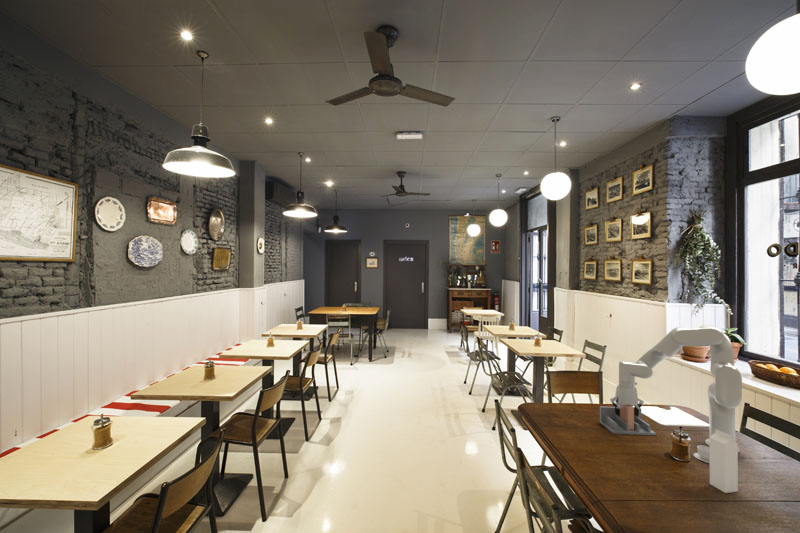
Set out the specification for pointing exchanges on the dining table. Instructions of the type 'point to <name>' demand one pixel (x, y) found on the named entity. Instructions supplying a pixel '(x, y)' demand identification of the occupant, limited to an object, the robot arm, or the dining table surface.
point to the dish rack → (623, 423)
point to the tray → (671, 417)
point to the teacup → (703, 453)
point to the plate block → (627, 415)
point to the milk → (723, 462)
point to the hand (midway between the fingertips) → (626, 415)
